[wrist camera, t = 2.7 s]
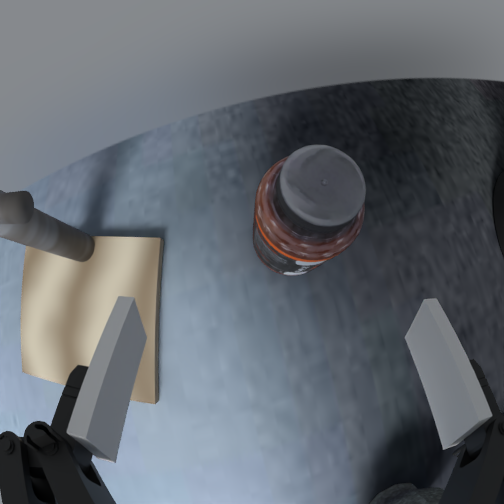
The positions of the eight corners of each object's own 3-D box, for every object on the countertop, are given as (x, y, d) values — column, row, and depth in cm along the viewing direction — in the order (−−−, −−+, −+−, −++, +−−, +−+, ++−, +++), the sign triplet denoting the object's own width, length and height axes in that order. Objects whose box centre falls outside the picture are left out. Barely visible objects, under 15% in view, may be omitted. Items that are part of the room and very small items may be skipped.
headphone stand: (164, 238, 24) (84, 171, 11) (158, 400, 22) (81, 476, 9) (34, 235, 24) (-65, 194, 11) (28, 370, 22) (-72, 391, 9)
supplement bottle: (310, 288, 23) (363, 274, 12) (239, 258, 24) (231, 216, 12) (337, 220, 24) (398, 159, 13) (270, 191, 25) (285, 108, 13)
